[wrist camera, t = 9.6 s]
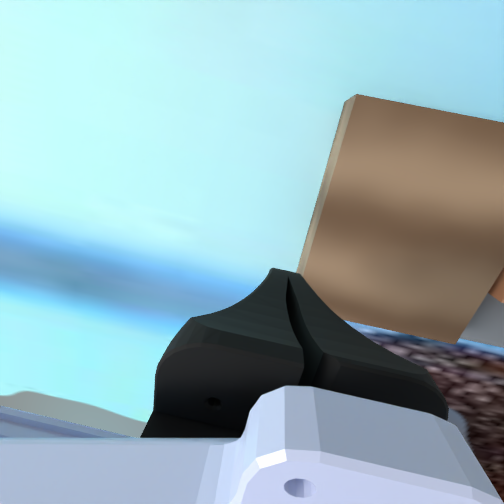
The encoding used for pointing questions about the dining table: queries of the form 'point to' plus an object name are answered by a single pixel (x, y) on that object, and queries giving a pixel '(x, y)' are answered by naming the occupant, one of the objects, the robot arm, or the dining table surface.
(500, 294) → the orange flat block
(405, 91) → the dining table surface
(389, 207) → the stand
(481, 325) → the mat
